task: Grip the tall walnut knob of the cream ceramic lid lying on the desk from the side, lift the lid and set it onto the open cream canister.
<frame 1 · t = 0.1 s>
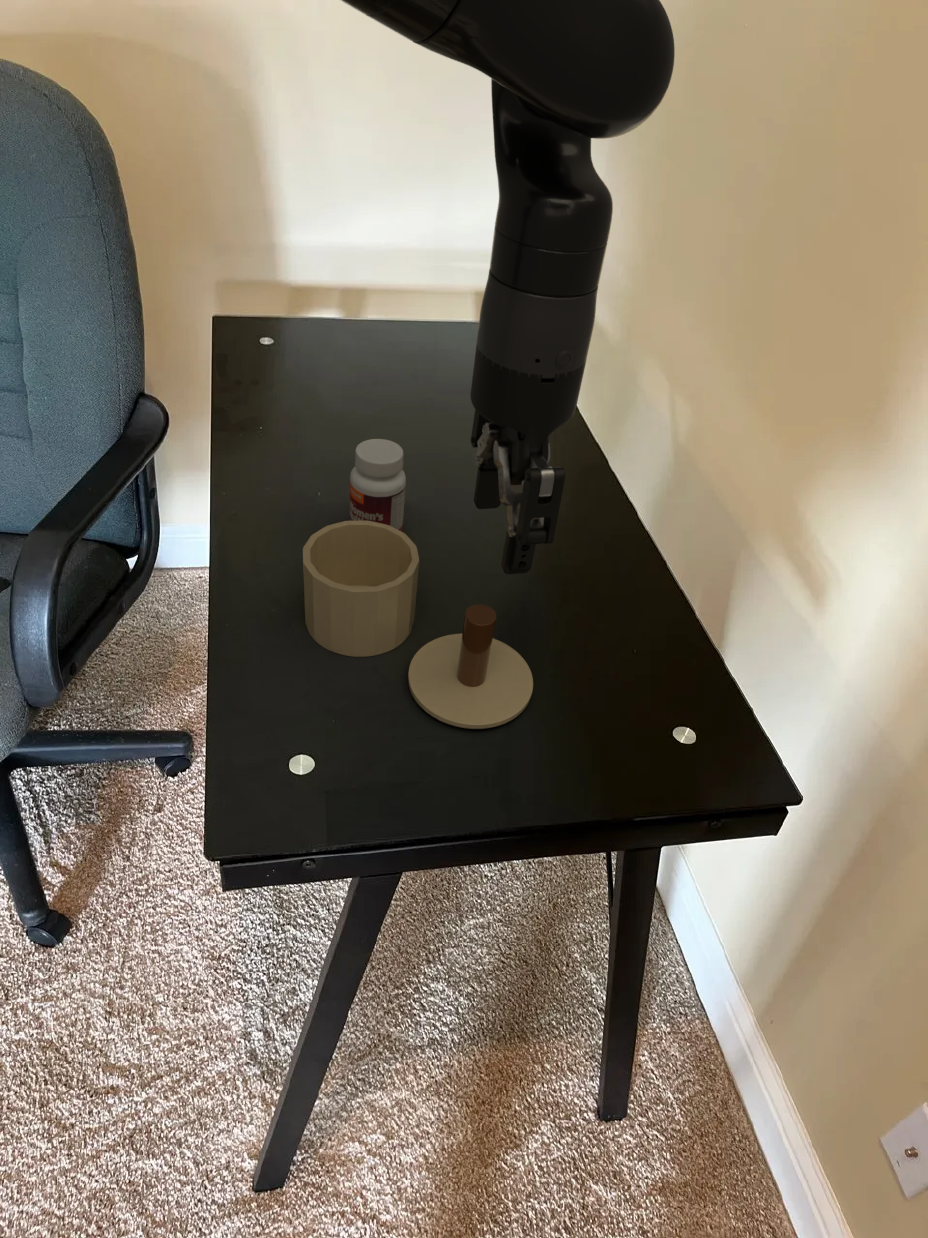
hand: (500, 537, 66), 19 cm above the table, tool pointing down, fingers open, 8 cm apart
canister: (359, 619, 85), on the table
lid: (470, 680, 79), point 1 cm above the table
pill bottle: (375, 537, 96), on the table
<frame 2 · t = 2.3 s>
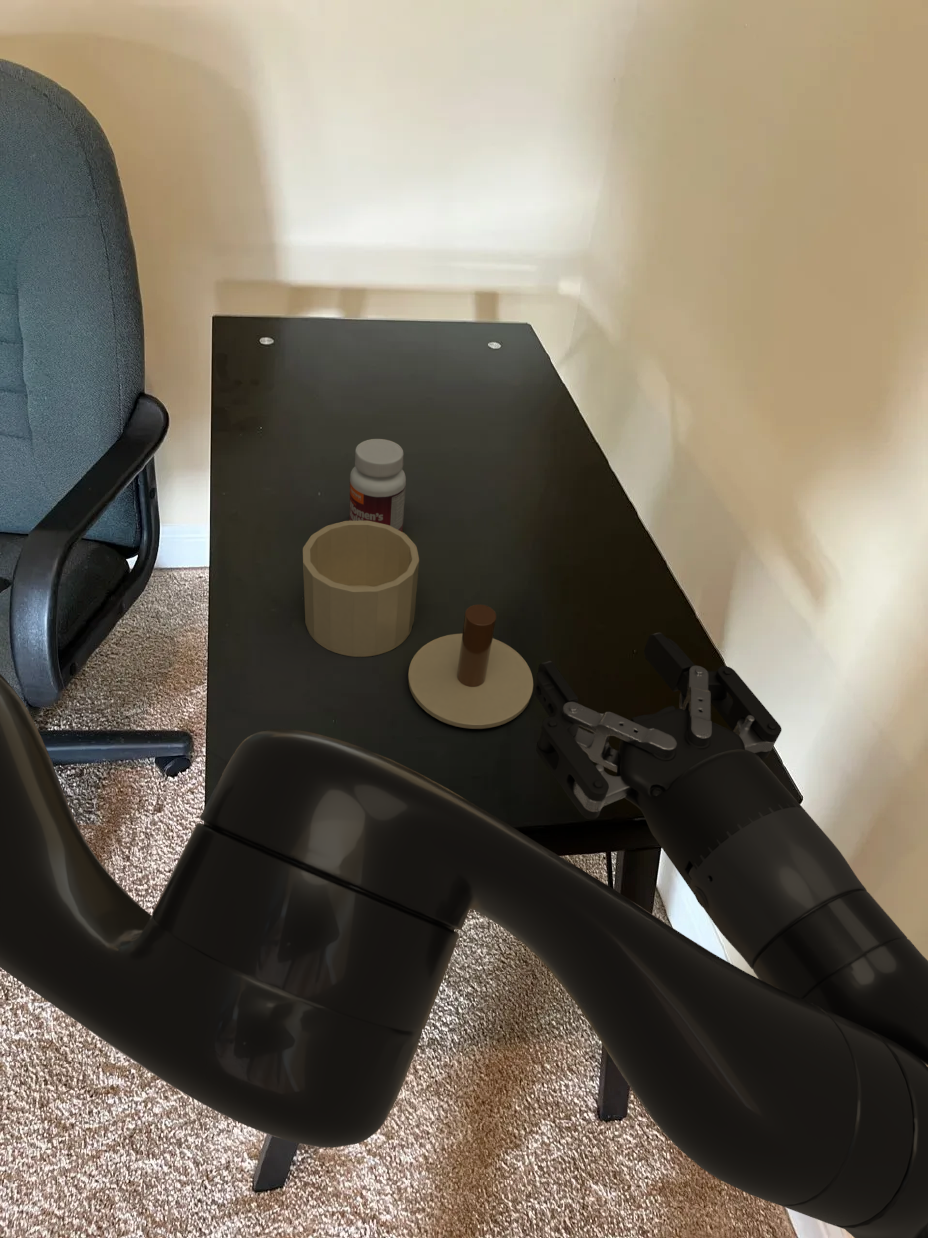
hand: (597, 656, 55), 20 cm above the table, tool horizontal, fingers open, 8 cm apart
nothing on the table moved.
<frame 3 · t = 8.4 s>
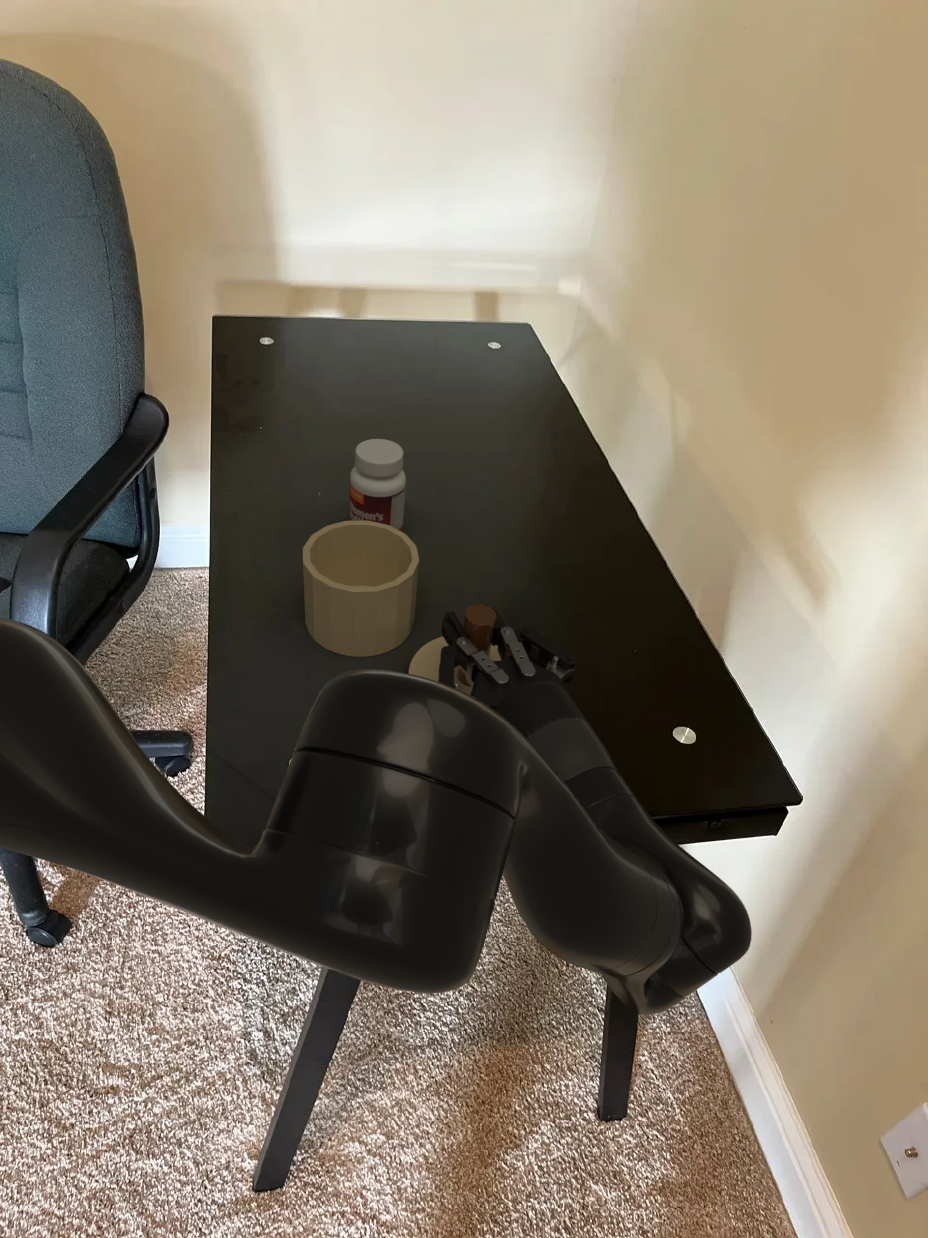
hand: (464, 615, 77), 7 cm above the table, tool horizontal, fingers closed on lid, 3 cm apart
lid: (470, 680, 79), point 1 cm above the table, touching gripper
everything else where it was.
when the fingers open (14 cm above the table, at t = 14.5 s): lid stays where it is, resting on canister.
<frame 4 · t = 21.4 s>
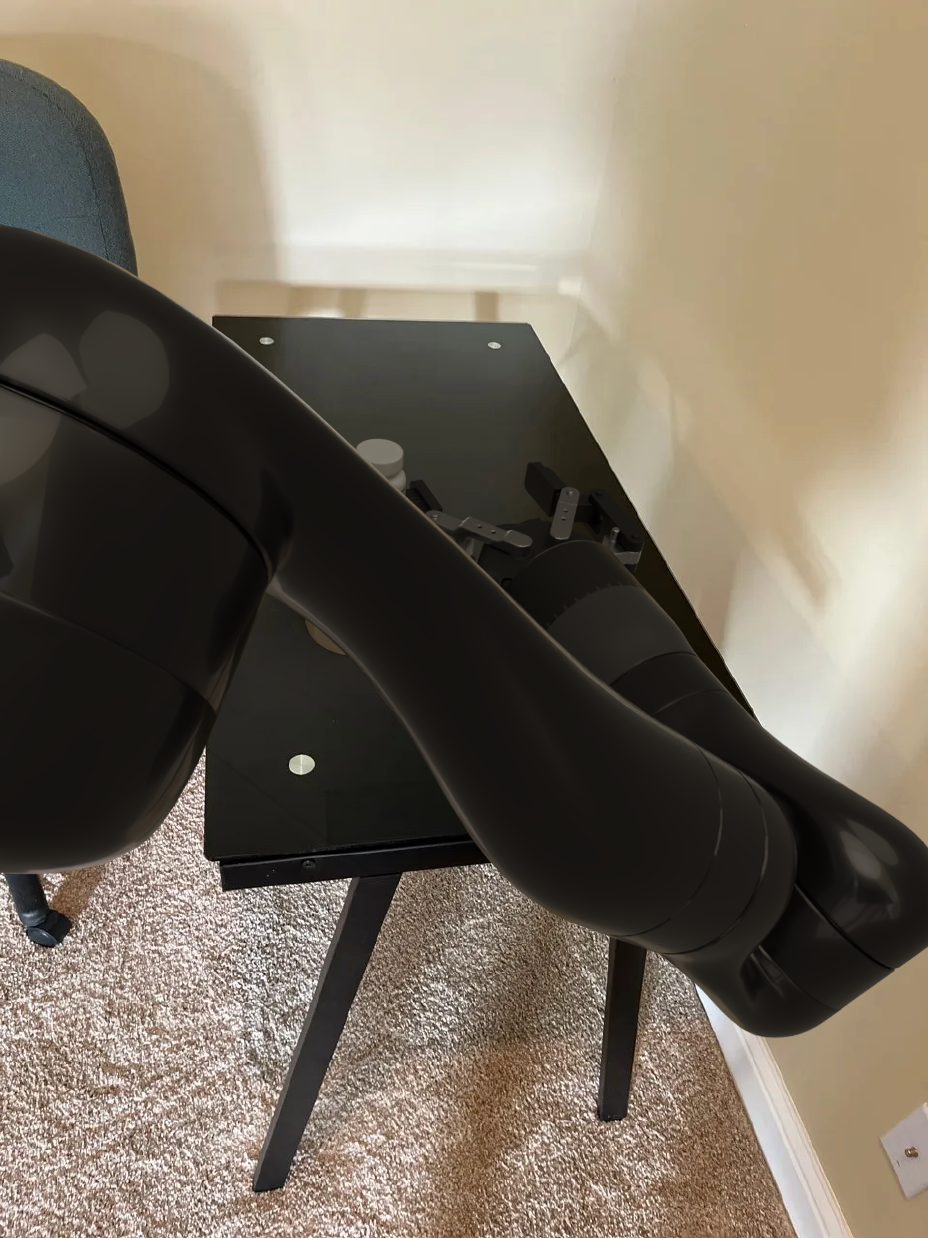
hand: (473, 481, 55), 28 cm above the table, tool horizontal, fingers open, 8 cm apart
lid: (362, 554, 79), point 8 cm above the table, touching canister
everything else where it was.
at the end: lid 0.1 cm off-centre on the canister, point 8.5 cm above the canister's base; lid tilted 0°; the gripper is holding nothing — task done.
